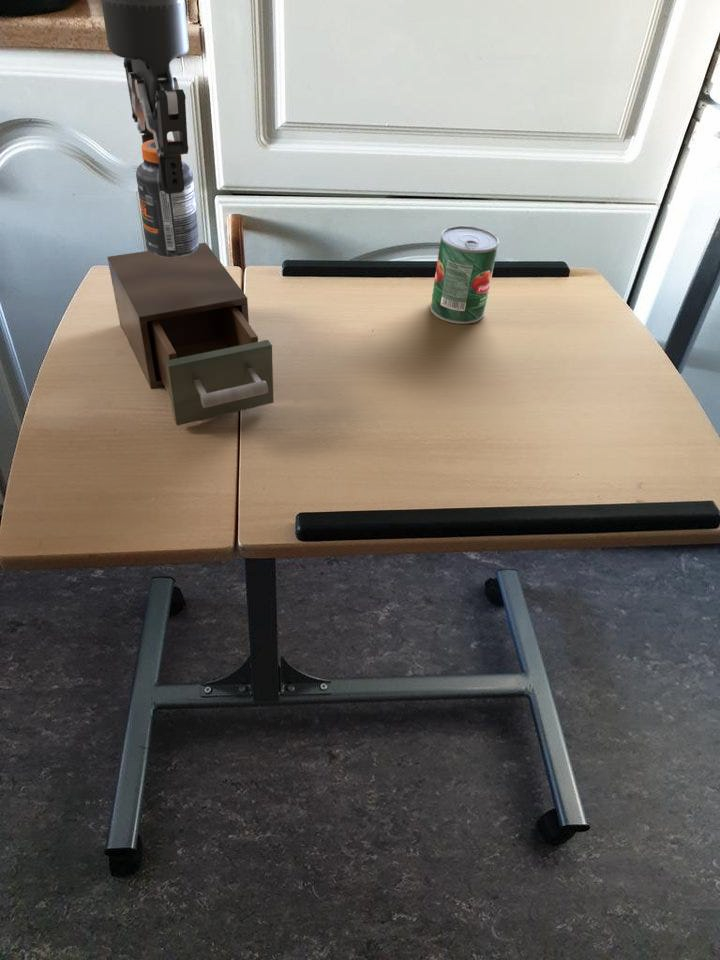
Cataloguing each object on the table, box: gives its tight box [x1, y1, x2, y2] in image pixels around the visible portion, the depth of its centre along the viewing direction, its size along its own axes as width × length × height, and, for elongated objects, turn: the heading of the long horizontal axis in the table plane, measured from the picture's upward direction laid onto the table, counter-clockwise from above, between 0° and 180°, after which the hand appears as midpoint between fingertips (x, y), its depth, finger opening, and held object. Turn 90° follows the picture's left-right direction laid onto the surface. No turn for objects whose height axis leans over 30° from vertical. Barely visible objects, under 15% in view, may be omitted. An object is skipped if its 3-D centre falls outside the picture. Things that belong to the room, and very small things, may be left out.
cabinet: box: [106, 242, 250, 389], centre depth 88 cm, size 16×13×10 cm
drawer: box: [147, 306, 274, 427], centre depth 80 cm, size 19×11×8 cm, turn 27°
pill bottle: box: [135, 138, 200, 257], centre depth 77 cm, size 6×6×11 cm
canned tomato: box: [429, 225, 500, 325], centre depth 99 cm, size 8×8×11 cm
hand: (164, 180), depth 76 cm, fingers closed on pill bottle, 6 cm apart
